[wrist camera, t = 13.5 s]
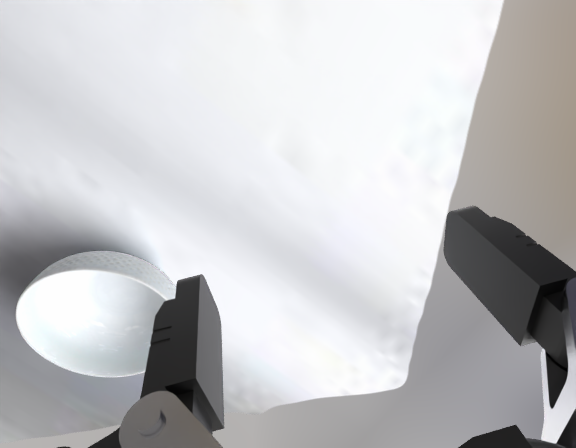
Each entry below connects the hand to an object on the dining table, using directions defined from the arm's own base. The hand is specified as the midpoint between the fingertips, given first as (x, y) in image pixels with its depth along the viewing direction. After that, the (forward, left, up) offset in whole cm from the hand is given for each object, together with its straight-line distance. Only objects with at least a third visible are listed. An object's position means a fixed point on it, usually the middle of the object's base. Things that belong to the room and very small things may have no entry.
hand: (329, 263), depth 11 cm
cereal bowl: (-24, -18, -27) cm, 41 cm away
